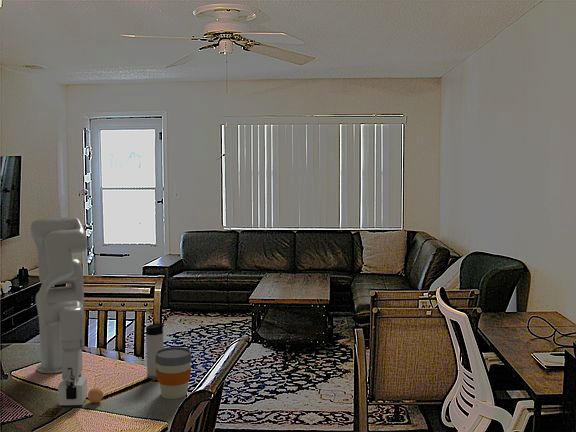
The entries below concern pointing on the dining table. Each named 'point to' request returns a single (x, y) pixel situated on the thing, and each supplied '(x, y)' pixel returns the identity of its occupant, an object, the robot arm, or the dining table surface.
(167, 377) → the reusable coffee cup
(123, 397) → the dining table surface
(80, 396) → the white block
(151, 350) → the travel mug
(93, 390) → the ball
